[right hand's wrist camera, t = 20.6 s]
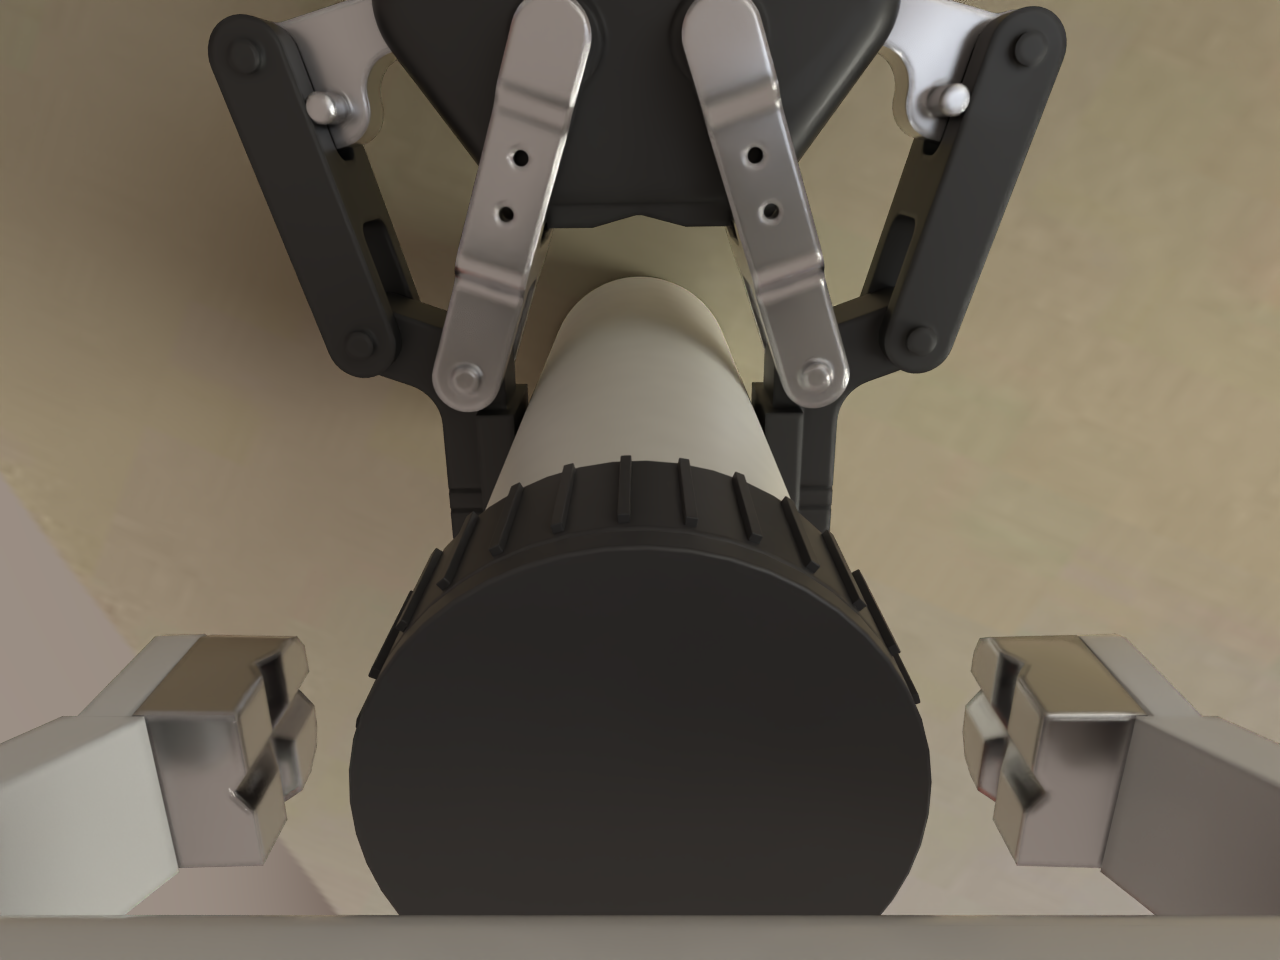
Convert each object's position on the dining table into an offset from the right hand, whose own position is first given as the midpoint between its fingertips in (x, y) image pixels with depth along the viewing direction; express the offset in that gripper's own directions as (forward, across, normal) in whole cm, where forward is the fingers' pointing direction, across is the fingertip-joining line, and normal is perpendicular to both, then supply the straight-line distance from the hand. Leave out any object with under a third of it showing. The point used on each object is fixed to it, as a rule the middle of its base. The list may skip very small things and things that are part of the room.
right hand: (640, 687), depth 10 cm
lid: (-2, 0, 0) cm, 2 cm away
